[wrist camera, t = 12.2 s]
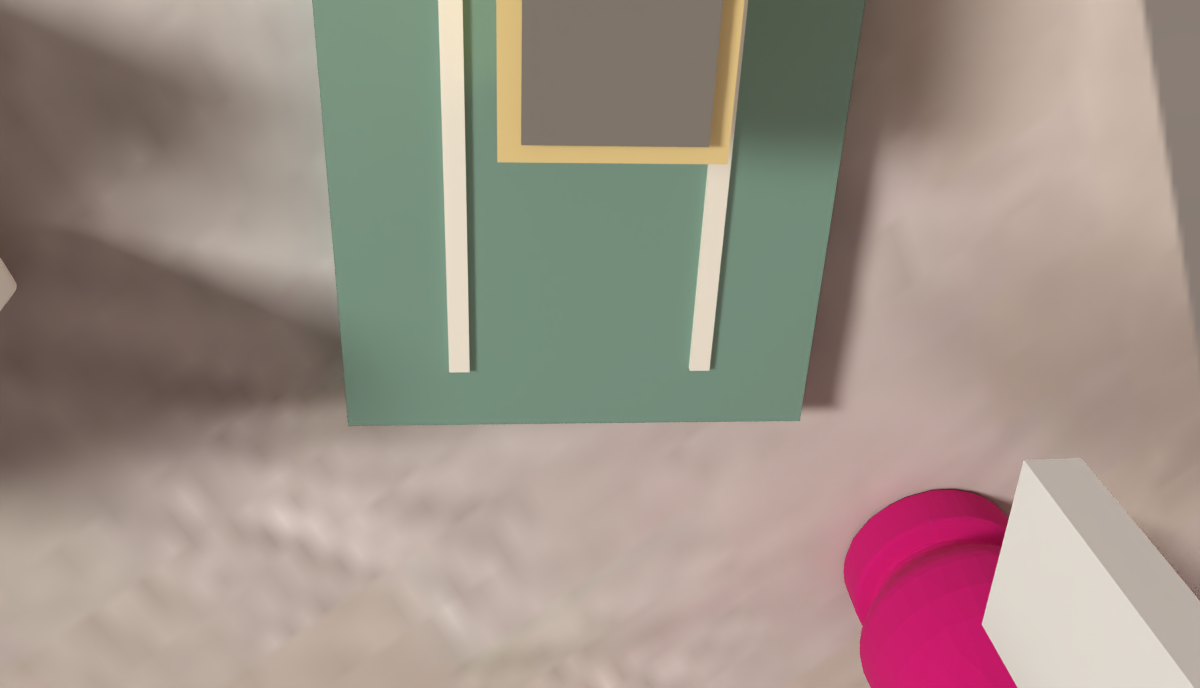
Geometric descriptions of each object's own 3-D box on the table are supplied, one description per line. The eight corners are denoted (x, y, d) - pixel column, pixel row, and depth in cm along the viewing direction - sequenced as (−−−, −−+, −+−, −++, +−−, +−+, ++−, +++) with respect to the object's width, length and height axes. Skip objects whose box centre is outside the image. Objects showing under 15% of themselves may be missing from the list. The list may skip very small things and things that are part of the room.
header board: (789, 394, 37) (851, 545, 31) (353, 399, 36) (322, 556, 29) (908, -414, 26) (1046, -446, 20) (285, -449, 25) (211, -496, 18)
